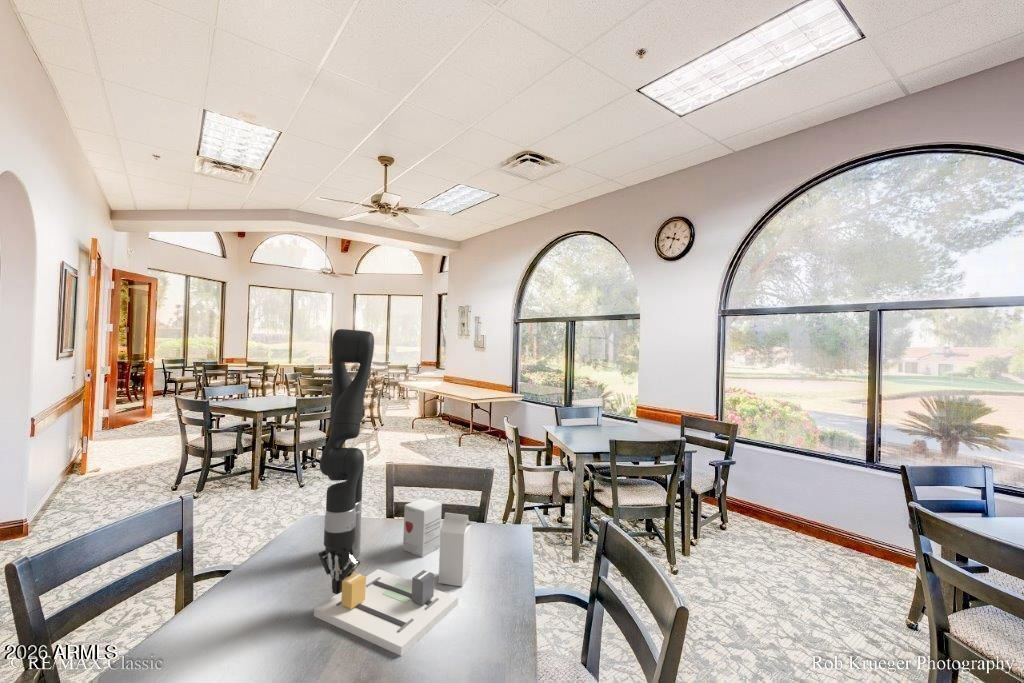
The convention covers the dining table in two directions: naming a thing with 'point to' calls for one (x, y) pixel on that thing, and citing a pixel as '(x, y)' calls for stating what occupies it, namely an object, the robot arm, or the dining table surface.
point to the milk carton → (454, 549)
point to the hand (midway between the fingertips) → (337, 592)
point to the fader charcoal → (422, 587)
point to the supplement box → (422, 526)
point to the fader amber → (353, 590)
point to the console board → (388, 612)
